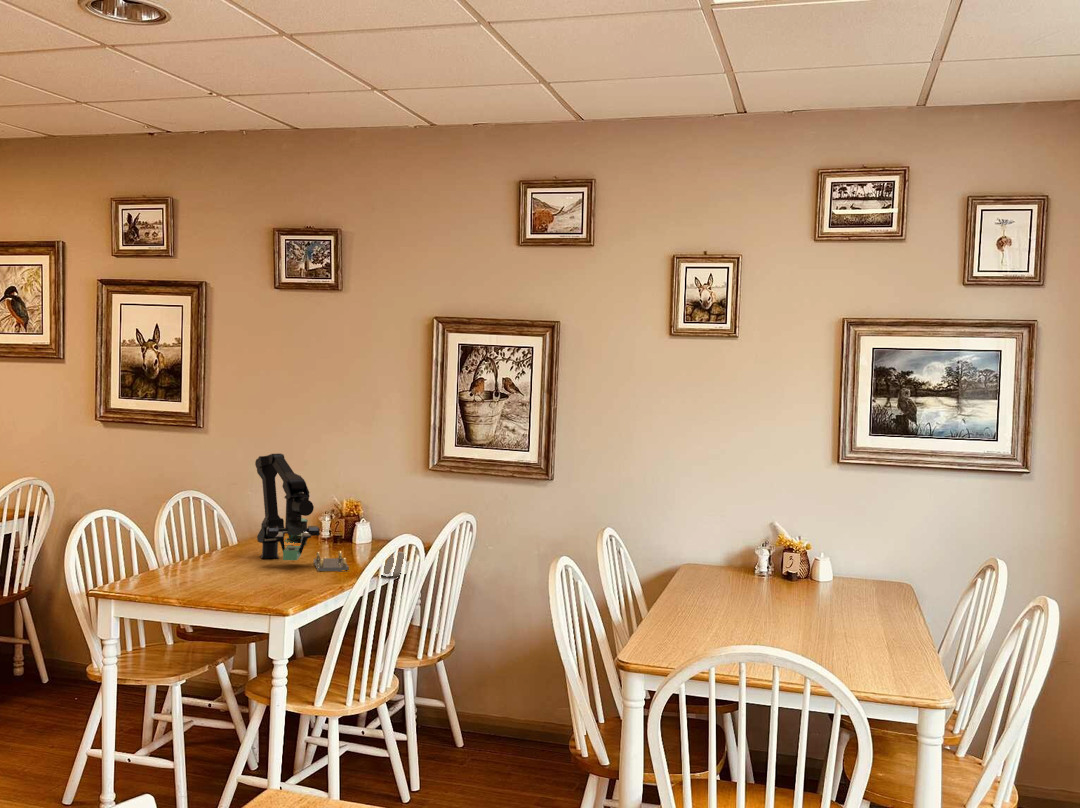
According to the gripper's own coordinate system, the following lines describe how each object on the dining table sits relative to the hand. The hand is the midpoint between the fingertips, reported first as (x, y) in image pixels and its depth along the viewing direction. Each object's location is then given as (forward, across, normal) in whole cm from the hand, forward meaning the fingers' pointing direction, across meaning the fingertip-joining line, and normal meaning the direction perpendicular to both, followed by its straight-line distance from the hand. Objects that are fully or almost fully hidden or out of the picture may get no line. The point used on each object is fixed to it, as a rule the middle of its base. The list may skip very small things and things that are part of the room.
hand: (292, 554), depth 356 cm
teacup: (+5, +33, -18) cm, 38 cm away
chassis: (+5, +14, -2) cm, 15 cm away
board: (+1, 0, 0) cm, 1 cm away
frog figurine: (+5, +5, +46) cm, 47 cm away
